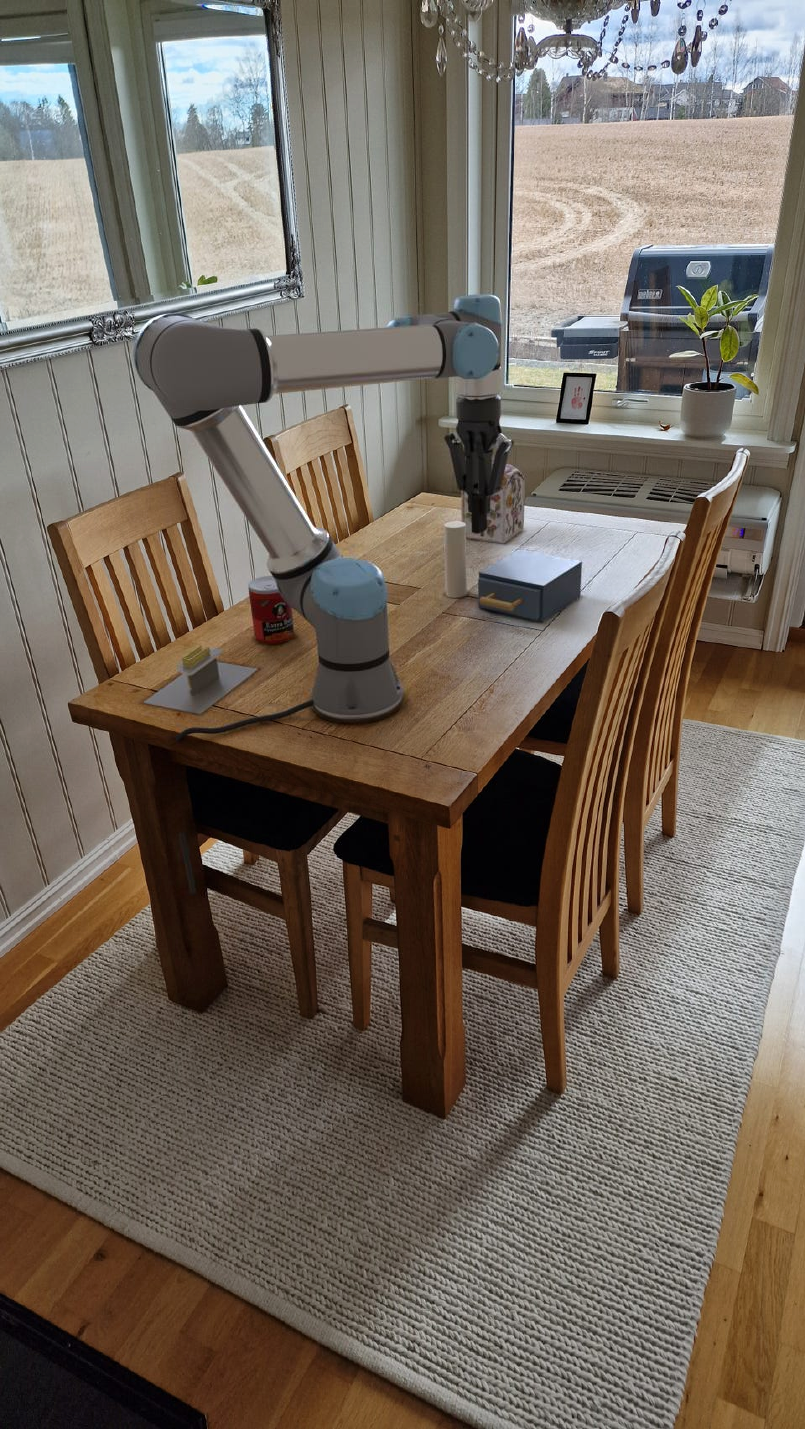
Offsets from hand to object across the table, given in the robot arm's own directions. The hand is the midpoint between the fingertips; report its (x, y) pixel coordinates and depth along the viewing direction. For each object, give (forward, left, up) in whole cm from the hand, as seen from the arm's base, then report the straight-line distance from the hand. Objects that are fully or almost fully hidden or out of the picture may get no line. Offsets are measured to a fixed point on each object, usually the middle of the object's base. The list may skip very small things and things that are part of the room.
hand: (479, 530), depth 174 cm
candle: (+11, +18, -20) cm, 30 cm away
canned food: (-28, +28, -21) cm, 45 cm away
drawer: (+14, +3, -20) cm, 24 cm away
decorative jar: (+44, +39, -21) cm, 63 cm away
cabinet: (+18, +4, -20) cm, 28 cm away
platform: (-49, +20, -21) cm, 57 cm away
